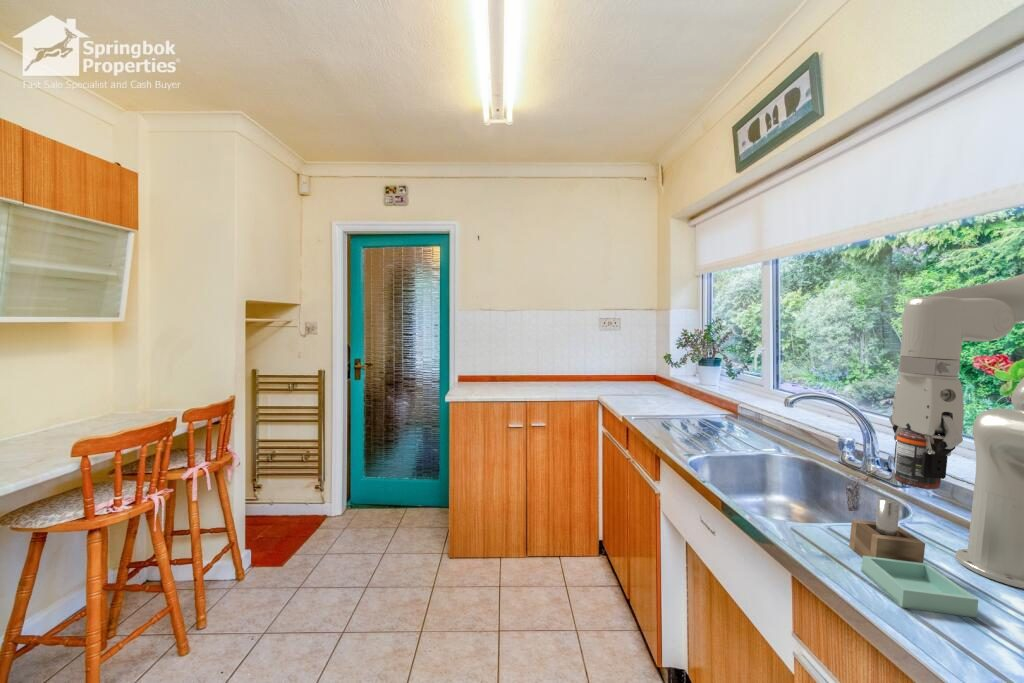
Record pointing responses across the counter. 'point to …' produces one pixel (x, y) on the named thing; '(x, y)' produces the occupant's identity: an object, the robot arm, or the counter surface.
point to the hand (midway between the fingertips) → (918, 469)
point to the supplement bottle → (912, 460)
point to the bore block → (885, 543)
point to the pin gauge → (887, 517)
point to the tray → (919, 586)
